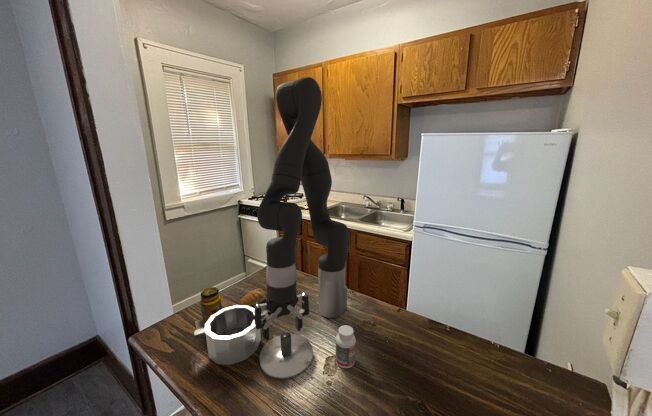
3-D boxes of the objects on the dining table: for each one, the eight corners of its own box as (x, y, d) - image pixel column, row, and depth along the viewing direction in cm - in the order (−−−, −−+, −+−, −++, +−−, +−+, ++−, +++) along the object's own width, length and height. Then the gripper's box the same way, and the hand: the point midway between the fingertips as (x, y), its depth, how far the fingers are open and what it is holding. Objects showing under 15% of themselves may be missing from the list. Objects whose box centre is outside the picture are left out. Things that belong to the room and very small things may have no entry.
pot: (262, 319, 85) (261, 298, 83) (274, 349, 72) (273, 325, 70) (197, 339, 76) (194, 316, 74) (198, 376, 64) (194, 350, 62)
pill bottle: (352, 371, 65) (353, 339, 63) (333, 366, 67) (333, 334, 64) (356, 355, 70) (357, 325, 68) (338, 351, 72) (338, 321, 69)
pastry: (246, 311, 89) (245, 302, 88) (235, 304, 93) (235, 295, 92) (267, 299, 96) (267, 290, 96) (256, 293, 100) (256, 284, 100)
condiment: (226, 325, 82) (222, 292, 79) (197, 335, 78) (193, 301, 75) (221, 313, 88) (218, 282, 85) (194, 322, 84) (190, 290, 81)
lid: (301, 333, 79) (300, 312, 77) (321, 368, 66) (321, 344, 64) (254, 350, 72) (253, 327, 70) (267, 392, 60) (265, 366, 58)
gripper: (302, 267, 70) (302, 318, 74) (250, 277, 64) (253, 332, 67) (313, 279, 63) (312, 335, 67) (255, 292, 57) (258, 352, 61)
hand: (282, 333), depth 67 cm, fingers open, 8 cm apart
